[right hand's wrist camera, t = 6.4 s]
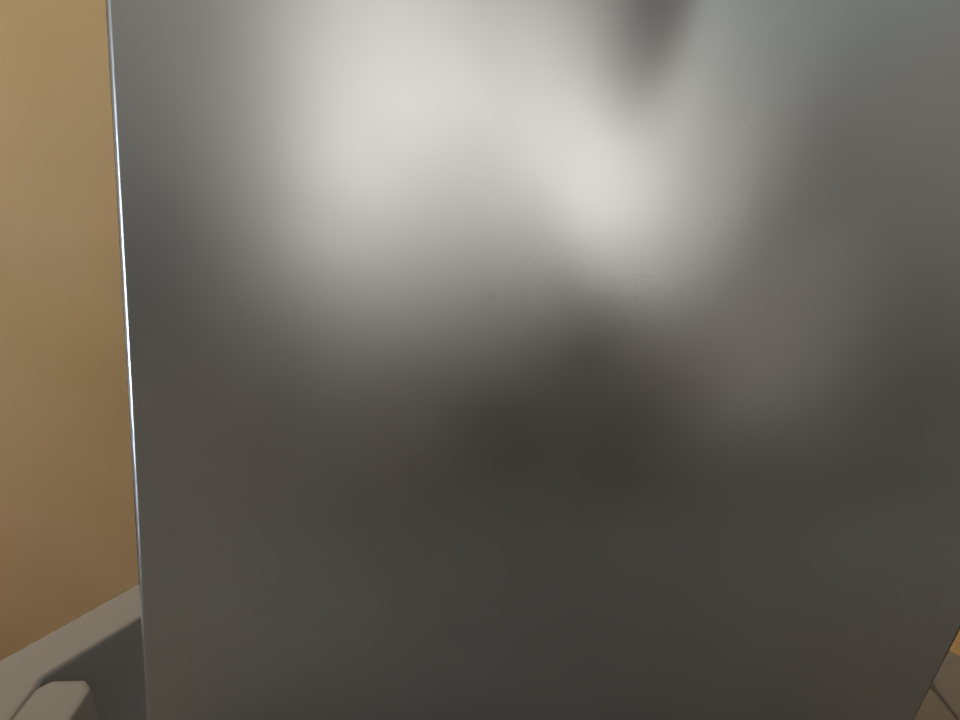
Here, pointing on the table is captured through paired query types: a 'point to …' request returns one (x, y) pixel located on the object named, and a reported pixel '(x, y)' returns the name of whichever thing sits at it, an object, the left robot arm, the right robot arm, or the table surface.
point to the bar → (541, 355)
